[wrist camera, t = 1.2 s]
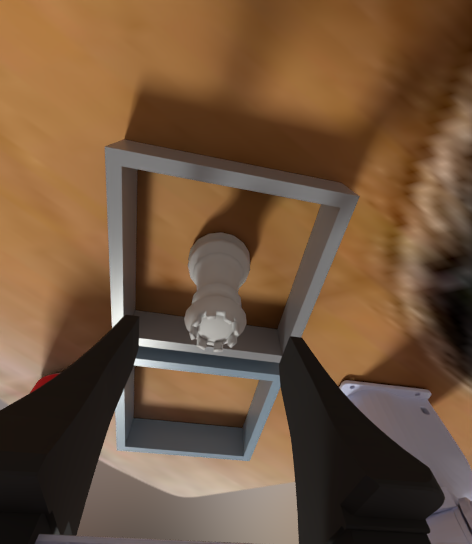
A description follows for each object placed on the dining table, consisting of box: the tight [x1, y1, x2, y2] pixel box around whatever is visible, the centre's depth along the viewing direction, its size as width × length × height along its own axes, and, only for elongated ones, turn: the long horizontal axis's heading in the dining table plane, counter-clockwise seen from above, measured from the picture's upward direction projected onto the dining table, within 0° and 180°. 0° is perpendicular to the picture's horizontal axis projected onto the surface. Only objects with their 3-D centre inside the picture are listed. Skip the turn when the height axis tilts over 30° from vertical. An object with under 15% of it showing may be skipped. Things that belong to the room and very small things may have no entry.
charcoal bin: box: [105, 140, 360, 363], centre depth 20 cm, size 14×14×3 cm
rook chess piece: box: [184, 232, 250, 352], centre depth 18 cm, size 4×4×8 cm
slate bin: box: [115, 346, 280, 461], centre depth 27 cm, size 14×14×3 cm
